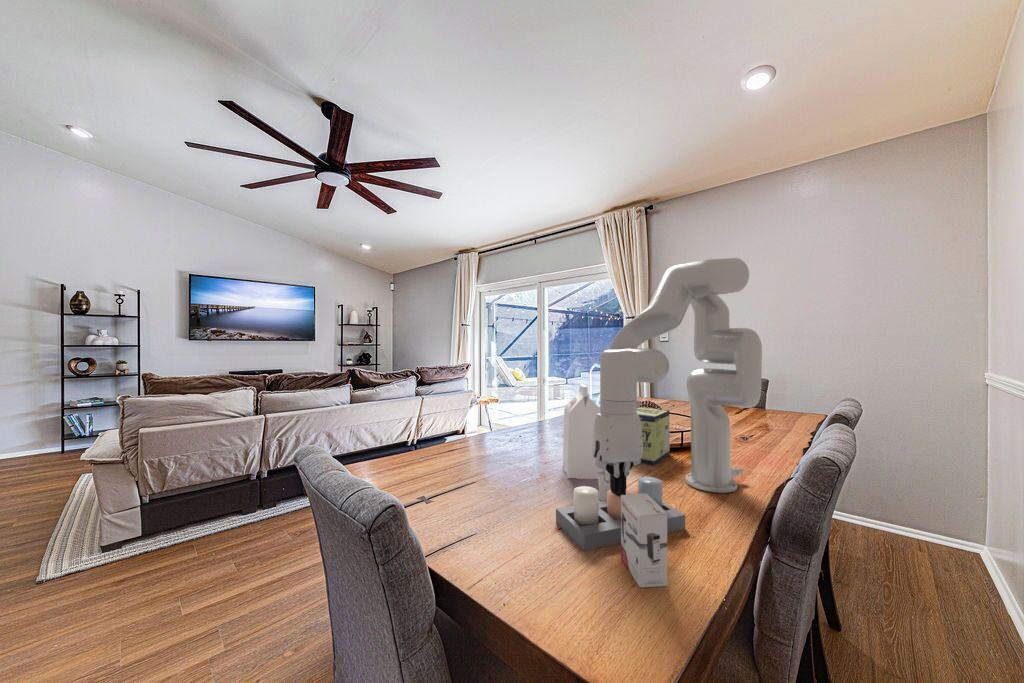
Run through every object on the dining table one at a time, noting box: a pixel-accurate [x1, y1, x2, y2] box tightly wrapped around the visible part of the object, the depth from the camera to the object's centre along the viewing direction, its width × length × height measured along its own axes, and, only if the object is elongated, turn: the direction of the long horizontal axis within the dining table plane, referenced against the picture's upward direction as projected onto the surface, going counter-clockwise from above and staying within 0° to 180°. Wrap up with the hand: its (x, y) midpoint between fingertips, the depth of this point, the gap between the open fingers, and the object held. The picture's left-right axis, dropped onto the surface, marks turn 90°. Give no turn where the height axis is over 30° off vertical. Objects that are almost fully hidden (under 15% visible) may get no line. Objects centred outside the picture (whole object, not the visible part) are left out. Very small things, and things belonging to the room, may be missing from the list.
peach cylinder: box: [607, 490, 632, 520], centre depth 80 cm, size 5×5×6 cm
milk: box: [562, 383, 600, 480], centre depth 114 cm, size 12×12×26 cm
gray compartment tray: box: [555, 500, 686, 552], centre depth 80 cm, size 24×12×3 cm, turn 109°
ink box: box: [620, 493, 668, 588], centre depth 64 cm, size 9×5×12 cm, turn 5°
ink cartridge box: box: [597, 468, 611, 501], centre depth 97 cm, size 9×5×15 cm, turn 168°
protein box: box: [637, 406, 671, 466], centre depth 127 cm, size 10×16×16 cm
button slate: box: [637, 476, 663, 508], centre depth 83 cm, size 5×5×6 cm
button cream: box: [573, 485, 599, 526], centre depth 77 cm, size 5×5×6 cm
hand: (618, 493), depth 80 cm, fingers closed
